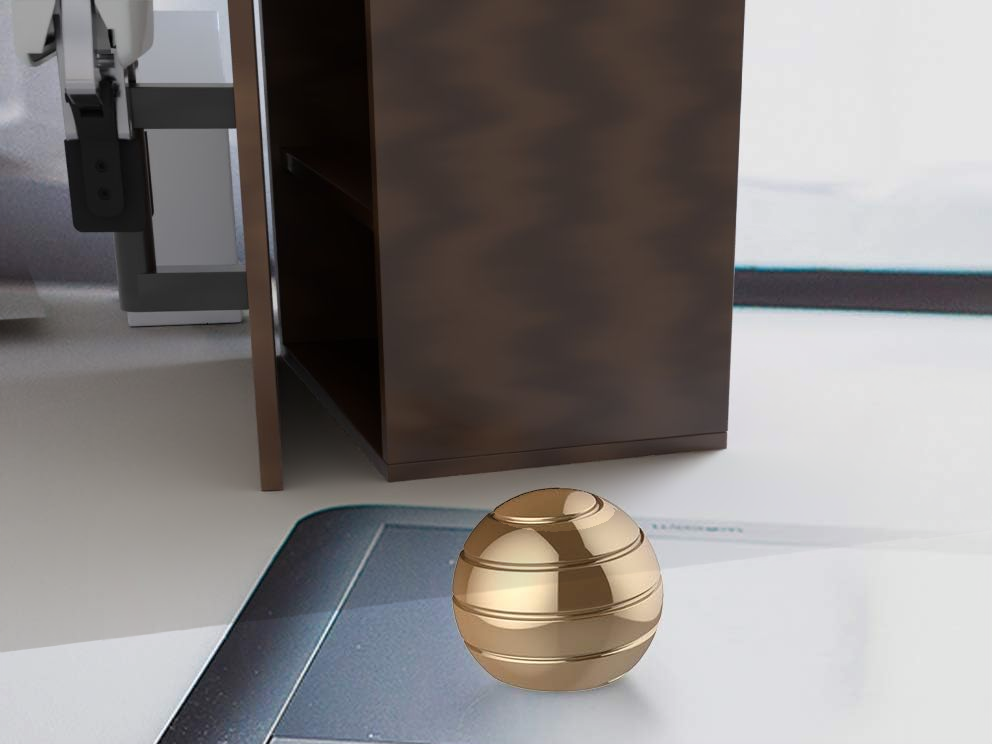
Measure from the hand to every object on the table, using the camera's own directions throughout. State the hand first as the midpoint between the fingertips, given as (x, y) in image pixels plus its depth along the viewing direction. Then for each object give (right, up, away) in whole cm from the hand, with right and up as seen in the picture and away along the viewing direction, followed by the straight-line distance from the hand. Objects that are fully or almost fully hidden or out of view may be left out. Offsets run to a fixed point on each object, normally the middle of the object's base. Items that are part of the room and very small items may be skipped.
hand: (114, 222), depth 80 cm
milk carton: (-6, +2, +36) cm, 37 cm away
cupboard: (+15, -5, +19) cm, 25 cm away
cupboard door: (+1, -7, +14) cm, 16 cm away
